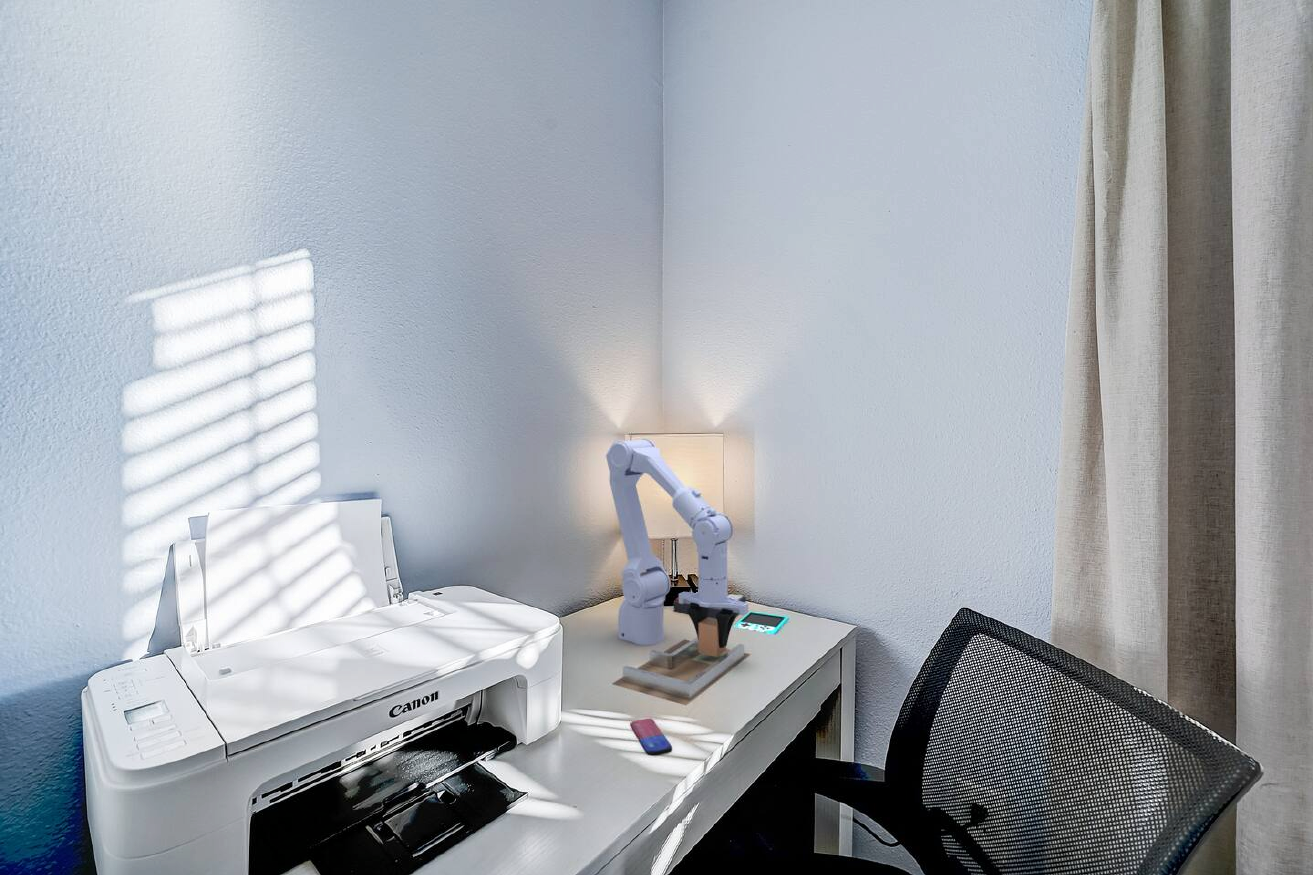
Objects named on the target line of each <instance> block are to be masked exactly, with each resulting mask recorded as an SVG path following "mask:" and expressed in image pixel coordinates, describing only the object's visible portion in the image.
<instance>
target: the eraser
mask: <svg viewBox="0 0 1313 875" xmlns="http://www.w3.org/2000/svg"><path fill="white" fill-rule="evenodd" d="M629 726H630V728H631V730H632V732H633V734H634V735H635V736H636V737H637V739H638V741H639V744H640V746H641V747H642V749H643V751H644V752H645V753H646V754H647V755H648V756H655V755H661V754H665V753H671V752H672V751H673V746H672V744H671V743H670V741H669V740H668V739H667V737H666V736H665V735H664V733H663V732H662V731H661V729H660V728H659V727H658V725H657V723H656V721H655V720H653V718H644V719H643V718H642V719H638V720H633V721H631V722H630V723H629Z"/></svg>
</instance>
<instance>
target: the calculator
mask: <svg viewBox="0 0 1313 875" xmlns="http://www.w3.org/2000/svg"><path fill="white" fill-rule="evenodd" d="M696 593H698V592H696ZM727 597H729V598H732V599H735V600H738V601H741V602H745V603H747V601H746V596H744V595H741V594H729V593H728V592H727ZM672 602H673V612H674V613H679V614H684V615H688V616H689V614H688V613H687V609H688V608H690V604H687V603H684V604H681V603H679V596H678V597H677V598H675V600H674V601H672ZM719 612H721V610H719V609H714V608H709V610H708V617H709V618H714V619H717V618H716V614H718V613H719ZM739 615H740V614H739V613H738V615H737V617H738V616H739ZM708 617H707V618H708Z"/></svg>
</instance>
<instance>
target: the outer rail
mask: <svg viewBox="0 0 1313 875" xmlns="http://www.w3.org/2000/svg"><path fill="white" fill-rule="evenodd" d="M744 653H745V644H742V643H738V644H737V645H736V646H734V647H733V648H731V649H730V651H729V652H728V653H726V654H725V655H724V656H722V657H721V658H719V659H718V660H717V661H715V662H714V663H713V664H711V665H710V666H708V667H707V668H706V669H704V670H703V671H702V672H700V673H699V674H698V675H696V676H695V677H693V678H692V679H691V680H689V681H688V682H686V681H682V680H679V679H675V678H671V677H667V676H663V675H660V674H656V673H652V672H648V671H645V670H641V669H637V668H638V667H633V666H628V665H624V666H623V667H622V677H623V681H625V682H629V683H632V684H636V685H639V686H643V687H646V688H650V689H653V690H657V691H661V692H664V693H668V694H671V695H675V696H678V697H682V698H685V699H689V700H690V699H691V698H692V697H694V696H695V695H696V694H698V693H699V692H700V691H701V690H703V689H704V688H705V687H707V686H708V685H709V684H710V683H712V682H713V681H714V680H715V679H717V678H718V677H719V676H721V675H722V674H723V673H724V672H726V671H727V670H728V669H729V668H731V667H732V666H733V665H735V664H736V663H737V662H738V661H740V660H741V659H742V658H744Z"/></svg>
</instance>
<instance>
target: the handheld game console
mask: <svg viewBox="0 0 1313 875" xmlns="http://www.w3.org/2000/svg"><path fill="white" fill-rule="evenodd" d="M789 620H790V619H789V616H787V615H781V614H780V615H779V614H773V613H765V612H759V611H748V613H747V614H746V615H743V617H742V618H741V619H740V620H738V621H737V622H736V624H733V625H732V627H735V628H738V629H744V630H749V631H752V632H753V631H754V632H759V633H763V634H769V635H774V636H775V634H776V633H777V632H778V633H779V632H780V631H781V629H782V628H783V627H784V626H785V625H786V624H787V623H788V621H789ZM785 623H786V624H785ZM784 624H785V625H784ZM783 625H784V626H783ZM782 626H783V627H782ZM778 633H777V634H778ZM777 634H776V635H777Z"/></svg>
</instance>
